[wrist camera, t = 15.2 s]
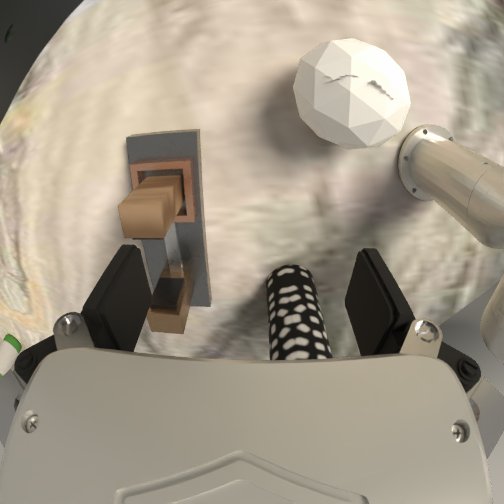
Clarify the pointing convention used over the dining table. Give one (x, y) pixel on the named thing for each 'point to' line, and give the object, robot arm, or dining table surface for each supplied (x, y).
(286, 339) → the white-spotted black cylinder
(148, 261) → the rail
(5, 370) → the wine bottle
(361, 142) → the geodesic sphere
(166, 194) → the gripped brown wooden block
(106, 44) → the dining table surface
